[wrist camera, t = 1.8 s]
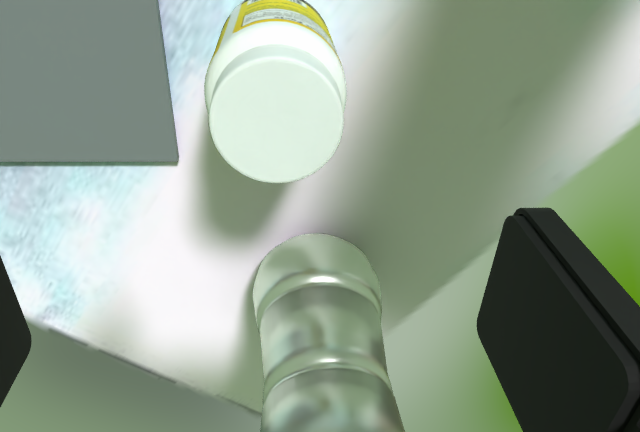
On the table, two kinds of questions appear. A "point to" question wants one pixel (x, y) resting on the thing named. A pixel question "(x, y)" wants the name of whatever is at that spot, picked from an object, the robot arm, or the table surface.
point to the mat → (84, 82)
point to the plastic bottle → (322, 339)
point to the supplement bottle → (275, 91)
